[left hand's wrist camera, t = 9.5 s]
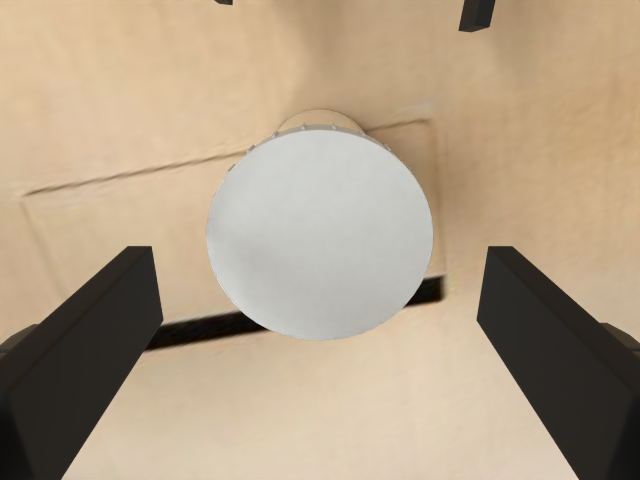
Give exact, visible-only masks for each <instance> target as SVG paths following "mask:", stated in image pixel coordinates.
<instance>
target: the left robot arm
mask: <svg viewBox="0 0 640 480" xmlns="http://www.w3.org/2000/svg"><path fill="white" fill-rule="evenodd" d="M162 322H163V314H162V308H161V302H160V295H159V289H158V283H157V277H156V271H155V264H154V258H153V252H152V246H127V247H126V248H125V249H124V250H123V251H122V252H121V253H119V254H118V255H117V256H116V257H115V258H114V259H113V260H112V261H110V262H109V263H108V264H107V265H106V266H105V267H104V268H102V269H101V270H100V271H99V272H98V273H97V274H96V275H94V276H93V277H92V278H91V279H90V280H89V281H88V282H87V283H85V284H84V285H83V286H82V287H81V288H80V289H79V290H77V291H76V292H75V293H74V294H73V295H72V296H71V297H70V298H68V299H67V300H66V301H65V302H64V303H63V304H62V305H60V306H59V307H58V308H57V309H56V310H55V311H54V312H52V313H51V314H50V315H49V316H48V317H47V318H46V319H45V320H43V321H42V322H41V323H40V324H33V325H31V326H29V327H27V328H25V329H24V330H22V331H20V332H18V333H16V334H14V335H12V336H11V337H9V338H8V339H7V340H6V341H5V342H4V343H2V344H1V345H0V480H61V479H62V477H63V476H64V474H65V472H66V471H67V469H68V468H69V466H70V465H71V463H72V462H73V460H74V458H75V457H76V455H77V454H78V452H79V451H80V449H81V448H82V446H83V444H84V443H85V441H86V440H87V438H88V437H89V435H90V434H91V432H92V430H93V429H94V427H95V426H96V424H97V423H98V421H99V420H100V418H101V416H102V415H103V413H104V412H105V410H106V409H107V407H108V406H109V404H110V402H111V401H112V399H113V398H114V396H115V395H116V393H117V392H118V390H119V389H120V387H121V385H122V384H123V382H124V381H125V379H126V378H127V376H128V375H129V373H130V371H131V370H132V368H133V367H134V365H135V364H136V362H137V361H138V359H139V357H140V356H141V354H142V353H143V351H144V350H145V348H146V347H147V345H148V343H149V342H150V340H151V339H152V337H153V336H154V334H155V333H156V331H157V329H158V328H159V326H160V325H161V323H162ZM477 322H478V323H479V325H480V326H481V328H482V329H483V331H484V333H485V334H486V336H487V337H488V339H489V340H490V342H491V343H492V345H493V347H494V348H495V350H496V351H497V353H498V354H499V356H500V357H501V359H502V361H503V362H504V364H505V365H506V367H507V368H508V370H509V371H510V373H511V375H512V376H513V378H514V379H515V381H516V382H517V384H518V385H519V387H520V389H521V390H522V392H523V393H524V395H525V396H526V398H527V399H528V401H529V403H530V404H531V406H532V407H533V409H534V410H535V412H536V413H537V415H538V416H539V418H540V420H541V421H542V423H543V424H544V426H545V427H546V429H547V430H548V432H549V434H550V435H551V437H552V438H553V440H554V441H555V443H556V444H557V446H558V448H559V449H560V451H561V452H562V454H563V455H564V457H565V458H566V460H567V462H568V463H569V465H570V466H571V468H572V469H573V471H574V472H575V474H576V476H577V477H578V479H579V480H640V343H639V342H638V341H636V340H635V339H634V338H633V337H632V336H630V335H629V334H627V333H625V332H623V331H621V330H620V329H618V328H616V327H614V326H612V325H610V324H608V323H599V322H598V321H597V320H595V319H594V318H593V317H592V316H591V315H590V314H589V313H588V312H586V311H585V310H584V309H583V308H582V307H581V306H580V305H578V304H577V303H576V302H575V301H574V300H573V299H572V298H570V297H569V296H568V295H567V294H566V293H565V292H564V291H563V290H561V289H560V288H559V287H558V286H557V285H556V284H555V283H553V282H552V281H551V280H550V279H549V278H548V277H547V276H546V275H544V274H543V273H542V272H541V271H540V270H539V269H538V268H536V267H535V266H534V265H533V264H532V263H531V262H530V261H528V260H527V259H526V258H525V257H524V256H523V255H522V254H521V253H519V252H518V251H517V250H516V249H515V248H514V247H513V246H488V252H487V258H486V264H485V271H484V277H483V283H482V289H481V295H480V302H479V308H478V314H477Z"/></svg>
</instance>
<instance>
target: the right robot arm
mask: <svg viewBox="0 0 640 480" xmlns="http://www.w3.org/2000/svg"><path fill="white" fill-rule="evenodd" d="M215 1H216V2H217V3H219V4H227V5H233V0H215ZM494 4H495V0H465V1H464V6H463V11H462V16H461V21H460V26H459V31H464V32H474V31H478V30H481V29H484V28H488V27H490V22H491V18H492V13H493V9H494Z"/></svg>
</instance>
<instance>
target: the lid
mask: <svg viewBox="0 0 640 480" xmlns="http://www.w3.org/2000/svg"><path fill="white" fill-rule="evenodd" d="M246 152H247V154H246V155H244V156H243V157H242V158H241V159H240V160H239V161H238V163H237V164H236V165H235V164H234V165H233V166H232V167H231V168H230V169H229V170H228V171H227V172H226V173H227V176H226V177H225V178H224V180H223V181H222V183H221V185H220V186H219V188H218V190H217V192H216V194H215V195H214V197H213V198H214V199H213V202H212V204H211V208H210V212H209V216H208V223H207V248H208V253H209V259H210V262H211V265H212V268H213V271H214V274H215V276H216V278H217V280H218V282H219V284H220V286H221V287H222V289H223V290H224V292H225V293H226V295H227V296H228V297H229V299H230V300H231V301H232V302H233V303H234V304H235V306H236V307H238V308H239V309H240V310H241V311H242V312H243V313H244V314H245V315H246V316H248V317H249V318H251V319H252V320H254V321H255V322H256V323H258V324H260V325H262V326H264V327H265V328H267V329H269V330H272V331H274V332H277V333H279V334H282V335H285V336H289V337H293V338H298V339H304V340H316V341H324V340H336V339H342V338H348V337H351V336H355V335H358V334H361V333H364V332H366V331H368V330H371V329H373V328H375V327H377V326H378V325H380V324H382V323H384V322H385V321H387V320H388V319H389V318H391V317H392V316H393V315H395V314H396V313H397V312H398V311H399V310H400V309H401V308H402V307H403V306H405V304H406V303H407V302H408V301H409V300H410V299H411V297H412V296H413V295H414V293H415V292H416V290H417V289H418V287H419V286H420V284H421V282H422V280H423V278H424V276H425V274H426V271H427V268H428V265H429V262H430V259H431V254H432V248H433V223H432V216H431V212H430V208H429V204H428V201H427V199H426V197H425V195H426V194H425V192H424V191H423V190H422V188H421V186H420V185H419V183H418V181H417V180H416V178H415V177H414V175H413V174H412V173H411V171H412V170H411V168H410V167H409V166H408V165H407V164H406V163H405V162H402V161H401V160H400V159H399V158H398V157H397V156H396V155H395V154H393V153H392V152H391V149H390V148H389V147H388V146H387V145H386V144H385V143H384V144H381V143H380V142H378V141H377V140H376V139H374V138H372V137H370V136H368V135H366V134H364V132H363V131H362V130H359V131H356V130H353V129H350V128H346V127H341V126H336V125H335V124H334V123H332V125H325V124H314V125H306V123H303V125H302V126H299V127H294V128H290V129H287V130H284V131H281V132H278V131H276V132H275V133H274V134H273V135H272V136H270V137H268V138H266V139H265V140H263V141H262V142H260V143H259V144H257V145H256V146H254V145H252V146H251V147H250V148H249V149H248V150H247V151H246Z"/></svg>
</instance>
